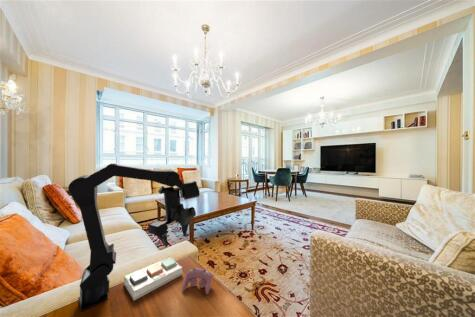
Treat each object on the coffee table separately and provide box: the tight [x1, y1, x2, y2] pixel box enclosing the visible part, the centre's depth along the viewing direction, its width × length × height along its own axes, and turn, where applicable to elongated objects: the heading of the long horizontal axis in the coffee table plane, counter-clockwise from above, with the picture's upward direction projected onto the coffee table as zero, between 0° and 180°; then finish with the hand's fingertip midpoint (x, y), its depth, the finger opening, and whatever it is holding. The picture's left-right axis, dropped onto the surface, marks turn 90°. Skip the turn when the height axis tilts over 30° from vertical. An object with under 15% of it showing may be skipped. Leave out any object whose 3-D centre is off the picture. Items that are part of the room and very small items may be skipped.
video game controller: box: [181, 267, 213, 295], centre depth 61 cm, size 10×5×7 cm, turn 85°
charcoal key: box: [130, 270, 148, 286], centre depth 60 cm, size 4×4×2 cm
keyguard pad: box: [123, 256, 183, 301], centre depth 64 cm, size 17×10×3 cm, turn 139°
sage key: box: [161, 257, 177, 270], centre depth 68 cm, size 4×4×2 cm
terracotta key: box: [146, 264, 163, 277], centre depth 64 cm, size 4×4×2 cm
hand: (175, 240), depth 68 cm, fingers open, 9 cm apart
